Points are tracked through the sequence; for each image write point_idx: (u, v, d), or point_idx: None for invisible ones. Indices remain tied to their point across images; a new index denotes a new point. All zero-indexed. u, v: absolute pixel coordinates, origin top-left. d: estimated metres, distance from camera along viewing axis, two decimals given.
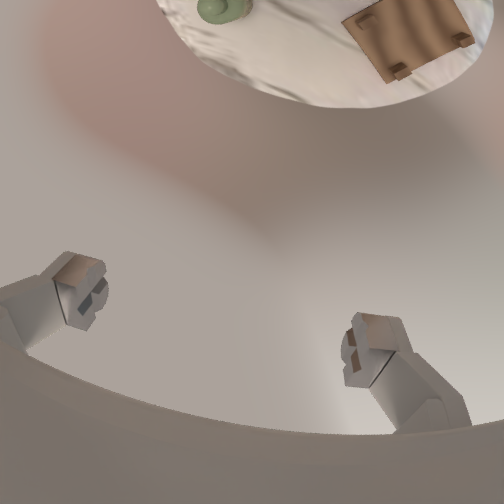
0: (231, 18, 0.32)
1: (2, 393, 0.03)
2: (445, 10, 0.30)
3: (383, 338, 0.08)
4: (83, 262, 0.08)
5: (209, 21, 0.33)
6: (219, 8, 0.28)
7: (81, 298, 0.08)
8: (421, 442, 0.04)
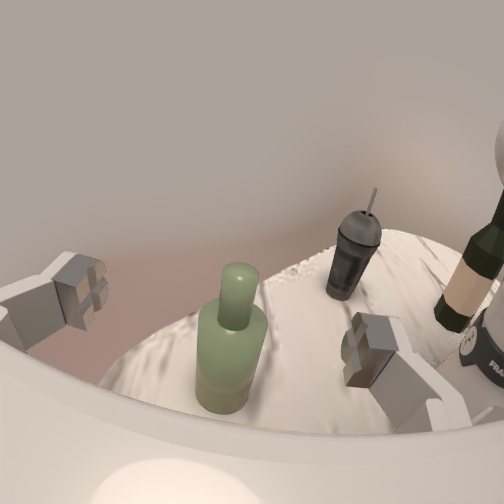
0: (215, 338, 0.24)
1: (2, 393, 0.03)
2: None
3: (383, 338, 0.08)
4: (83, 262, 0.08)
5: (202, 312, 0.26)
6: (242, 288, 0.22)
7: (81, 298, 0.08)
8: (421, 442, 0.04)
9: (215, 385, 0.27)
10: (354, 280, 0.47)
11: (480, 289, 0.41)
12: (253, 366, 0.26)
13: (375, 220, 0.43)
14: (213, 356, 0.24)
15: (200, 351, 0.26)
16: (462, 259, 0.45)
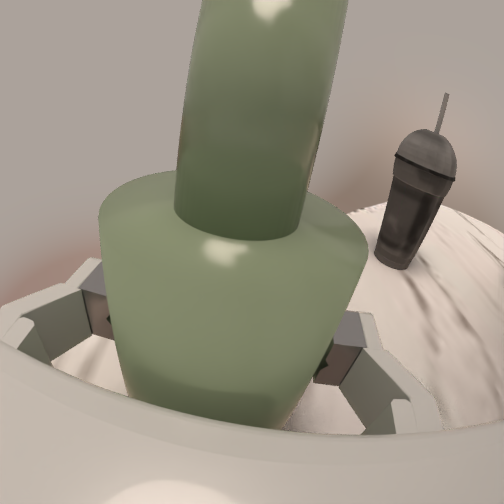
0: (144, 261, 0.05)
1: (2, 393, 0.03)
2: None
3: (350, 333, 0.08)
4: None
5: (126, 188, 0.07)
6: None
7: None
8: (421, 442, 0.04)
9: None
10: (420, 234, 0.28)
11: None
12: (301, 393, 0.07)
13: (448, 141, 0.24)
14: (146, 356, 0.05)
15: (114, 335, 0.07)
16: None
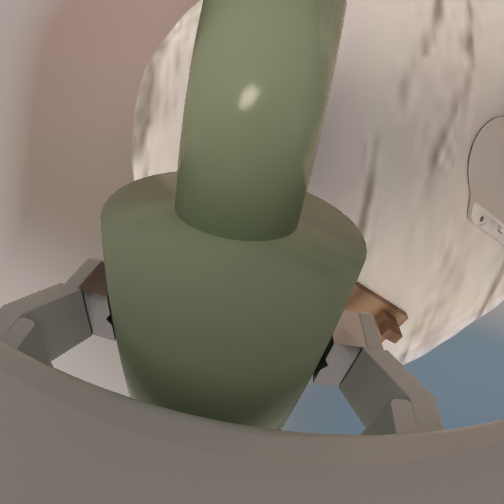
0: (146, 261, 0.05)
1: (2, 393, 0.03)
2: None
3: (350, 333, 0.08)
4: None
5: (128, 189, 0.07)
6: None
7: None
8: (421, 442, 0.04)
9: None
10: None
11: None
12: (301, 392, 0.07)
13: None
14: (148, 354, 0.05)
15: (116, 334, 0.07)
16: None
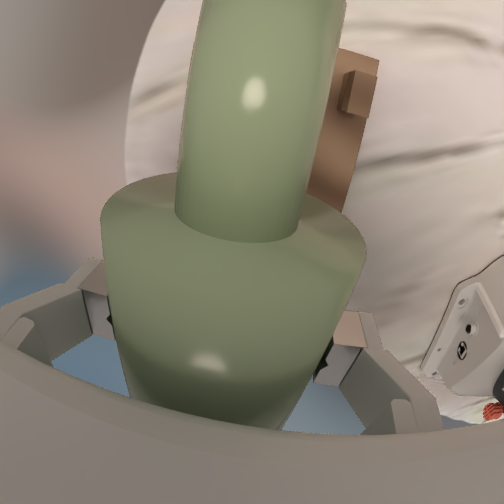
0: (145, 263, 0.05)
1: (2, 393, 0.03)
2: None
3: (350, 333, 0.08)
4: None
5: (128, 190, 0.07)
6: None
7: None
8: (421, 442, 0.04)
9: None
10: None
11: None
12: (300, 393, 0.07)
13: None
14: (147, 355, 0.05)
15: (115, 335, 0.07)
16: None
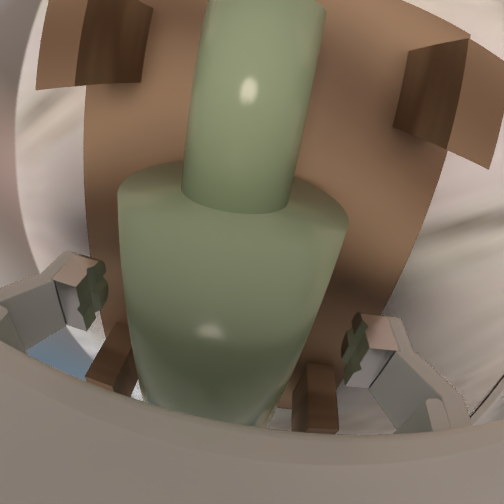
0: (151, 224, 0.06)
1: (2, 393, 0.03)
2: None
3: (383, 338, 0.08)
4: (83, 262, 0.08)
5: (143, 172, 0.08)
6: (272, 3, 0.04)
7: (81, 298, 0.08)
8: (421, 442, 0.04)
9: None
10: None
11: None
12: (290, 362, 0.08)
13: None
14: (149, 309, 0.07)
15: (125, 298, 0.08)
16: None
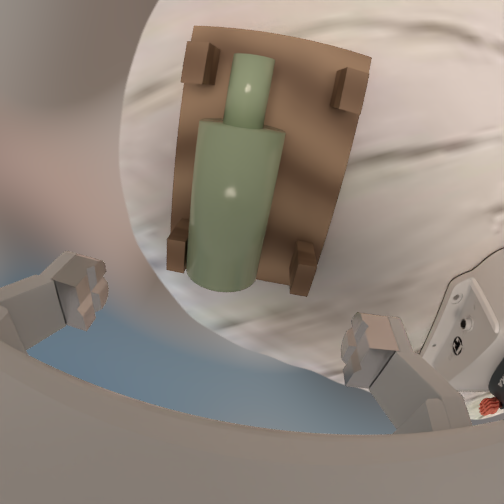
0: (205, 124, 0.18)
1: (2, 393, 0.03)
2: None
3: (383, 338, 0.08)
4: (83, 262, 0.08)
5: (214, 118, 0.21)
6: (245, 59, 0.16)
7: (81, 298, 0.08)
8: (421, 442, 0.04)
9: (197, 215, 0.21)
10: None
11: None
12: (249, 194, 0.19)
13: None
14: (199, 154, 0.19)
15: (195, 160, 0.21)
16: None
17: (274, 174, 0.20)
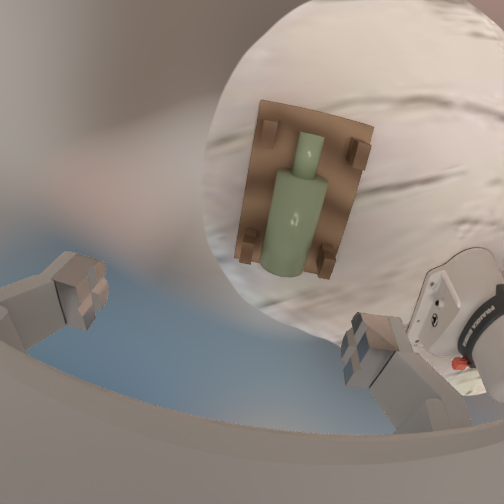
0: (289, 178, 0.32)
1: (2, 393, 0.03)
2: None
3: (383, 338, 0.08)
4: (83, 262, 0.08)
5: (280, 169, 0.34)
6: (313, 139, 0.30)
7: (81, 298, 0.08)
8: (421, 442, 0.04)
9: (281, 232, 0.35)
10: None
11: None
12: (314, 218, 0.34)
13: None
14: (285, 197, 0.33)
15: (274, 198, 0.34)
16: None
17: (322, 204, 0.35)
